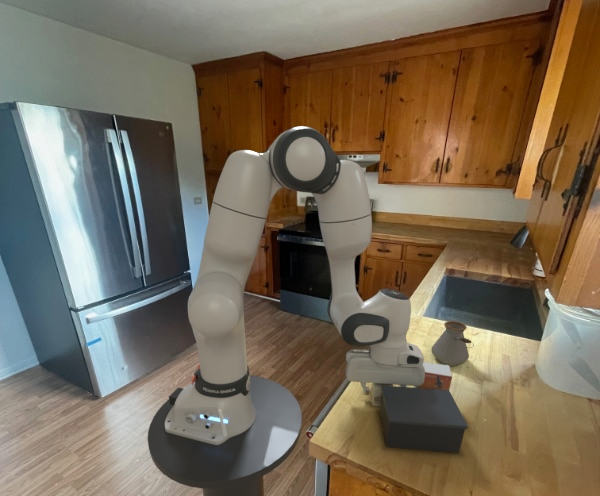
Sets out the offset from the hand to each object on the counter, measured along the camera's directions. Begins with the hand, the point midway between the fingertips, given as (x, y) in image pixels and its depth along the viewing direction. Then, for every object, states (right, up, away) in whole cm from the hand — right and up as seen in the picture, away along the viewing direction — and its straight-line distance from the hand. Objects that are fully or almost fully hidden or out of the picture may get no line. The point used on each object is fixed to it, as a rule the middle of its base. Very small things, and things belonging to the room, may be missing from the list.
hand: (381, 394), depth 90 cm
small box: (+13, -2, 0) cm, 13 cm away
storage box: (+6, -6, -10) cm, 13 cm away
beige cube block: (0, -1, +1) cm, 2 cm away
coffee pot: (+27, +4, +16) cm, 31 cm away
